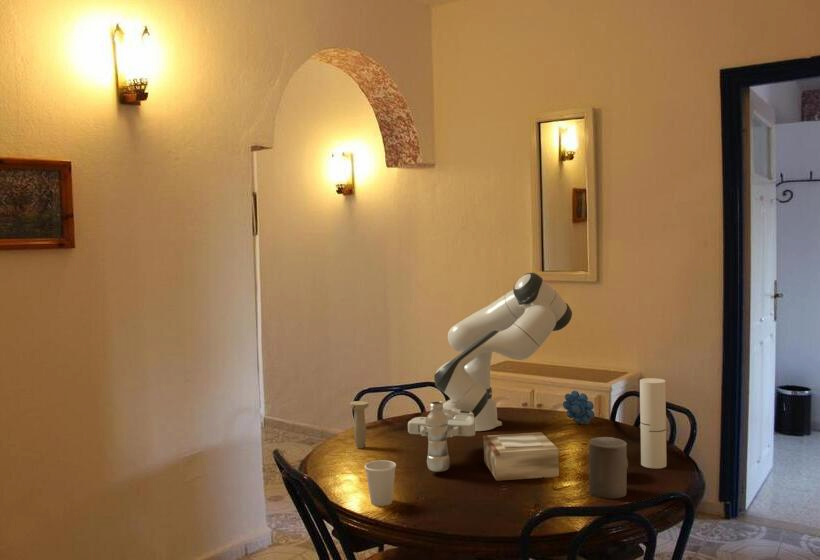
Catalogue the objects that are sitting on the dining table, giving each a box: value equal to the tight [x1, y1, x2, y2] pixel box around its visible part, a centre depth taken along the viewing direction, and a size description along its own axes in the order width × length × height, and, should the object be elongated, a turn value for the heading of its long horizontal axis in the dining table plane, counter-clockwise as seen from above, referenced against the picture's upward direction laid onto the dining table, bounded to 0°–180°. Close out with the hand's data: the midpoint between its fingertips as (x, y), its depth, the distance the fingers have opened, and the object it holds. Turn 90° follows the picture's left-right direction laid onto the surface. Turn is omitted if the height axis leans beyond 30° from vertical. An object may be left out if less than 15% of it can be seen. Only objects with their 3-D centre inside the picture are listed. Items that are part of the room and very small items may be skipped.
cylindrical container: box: [639, 377, 667, 469], centre depth 221 cm, size 7×7×25 cm
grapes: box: [562, 390, 596, 425], centre depth 270 cm, size 12×7×12 cm, turn 58°
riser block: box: [482, 431, 560, 481], centre depth 222 cm, size 18×18×8 cm
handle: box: [349, 400, 369, 449], centre depth 250 cm, size 5×6×15 cm
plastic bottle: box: [425, 401, 451, 473], centre depth 220 cm, size 6×7×20 cm
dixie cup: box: [363, 459, 397, 507], centre depth 199 cm, size 8×8×10 cm
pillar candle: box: [588, 436, 628, 500], centre depth 200 cm, size 10×10×15 cm
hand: (436, 433), depth 219 cm, fingers closed on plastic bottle, 6 cm apart
